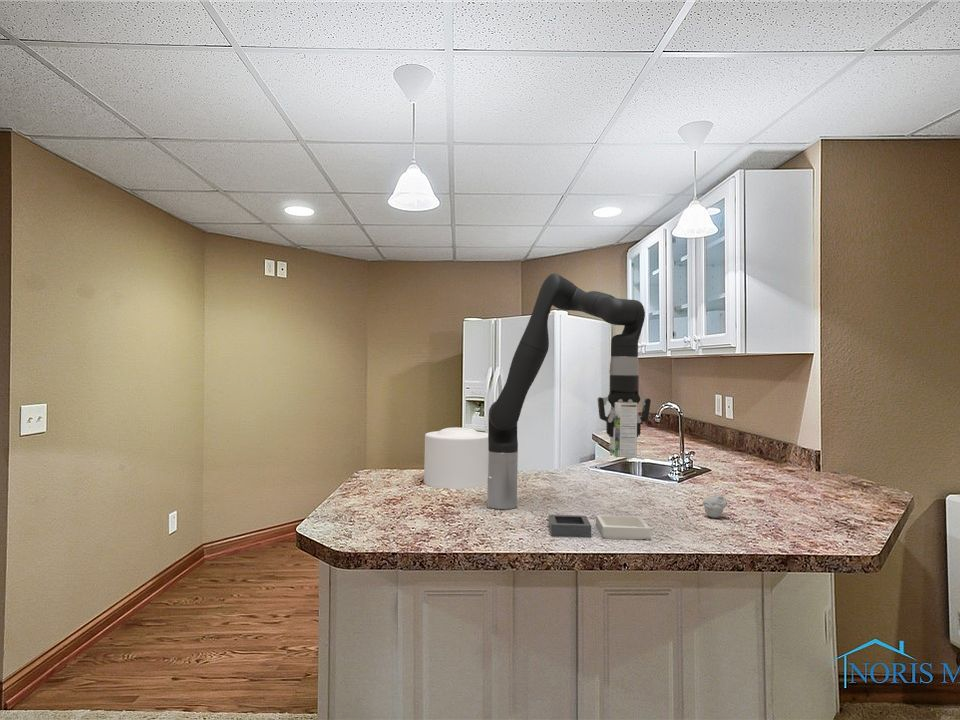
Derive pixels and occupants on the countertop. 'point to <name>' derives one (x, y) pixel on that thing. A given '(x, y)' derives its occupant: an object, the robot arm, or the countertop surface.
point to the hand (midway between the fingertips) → (623, 436)
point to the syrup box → (624, 430)
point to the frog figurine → (715, 505)
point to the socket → (569, 526)
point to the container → (456, 458)
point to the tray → (622, 527)
